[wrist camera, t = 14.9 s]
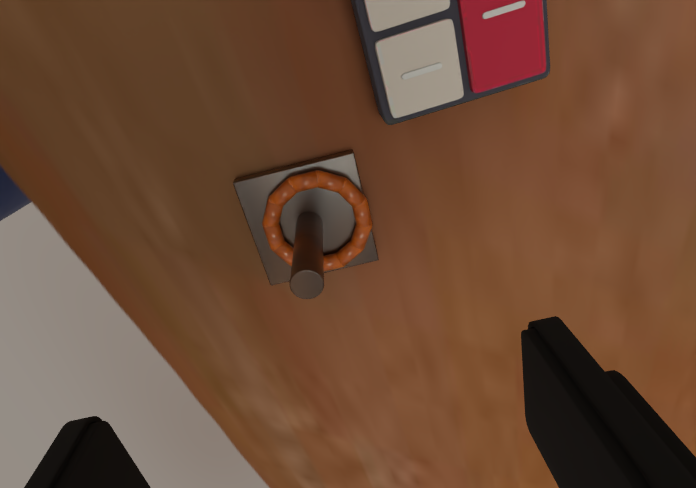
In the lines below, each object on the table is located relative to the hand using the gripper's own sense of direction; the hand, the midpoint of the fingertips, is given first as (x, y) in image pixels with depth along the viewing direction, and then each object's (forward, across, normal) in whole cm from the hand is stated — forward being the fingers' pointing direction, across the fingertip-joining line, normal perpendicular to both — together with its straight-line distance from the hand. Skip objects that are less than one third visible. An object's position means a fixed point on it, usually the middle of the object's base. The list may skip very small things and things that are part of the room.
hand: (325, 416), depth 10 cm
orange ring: (+23, +1, +5) cm, 24 cm away
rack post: (+25, +2, +5) cm, 26 cm away
